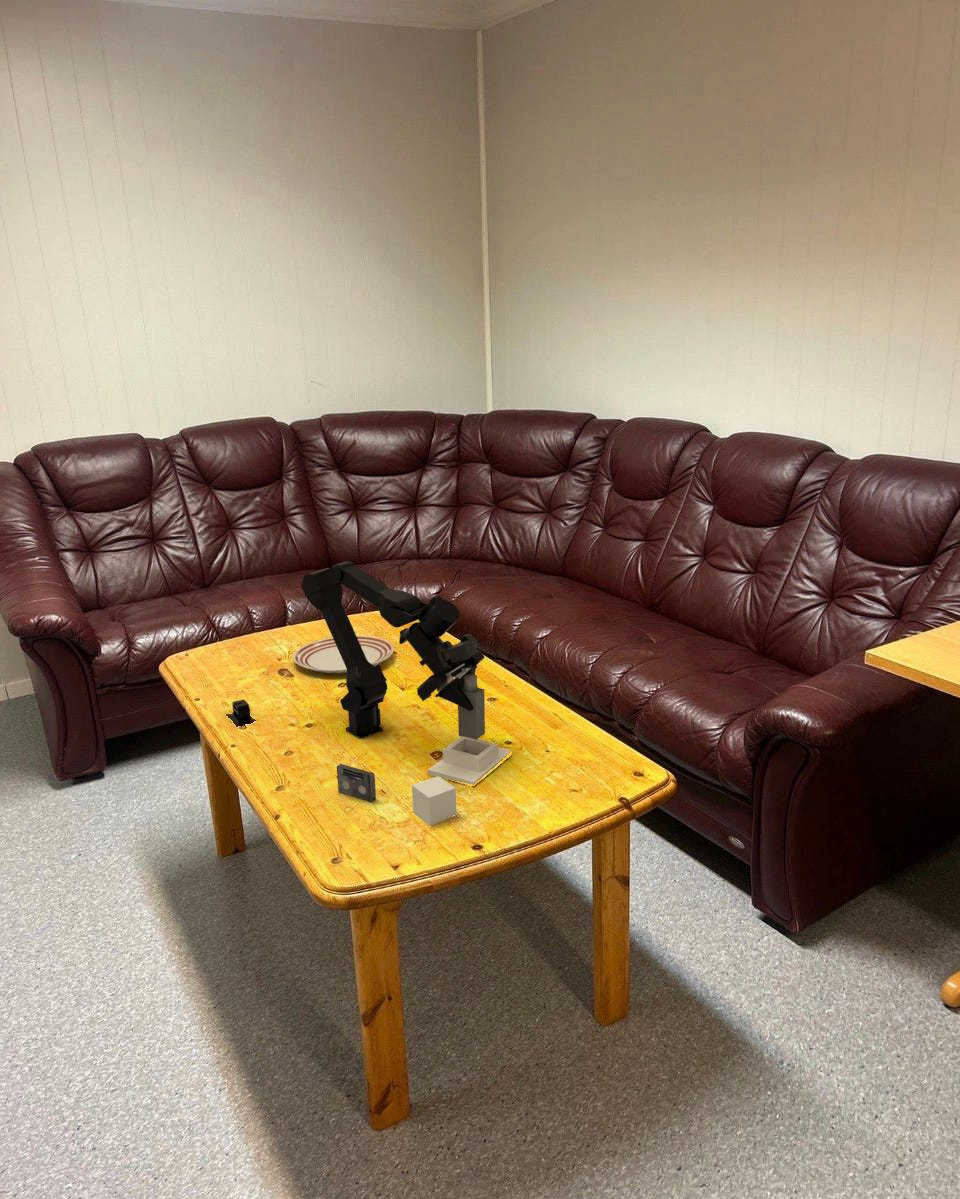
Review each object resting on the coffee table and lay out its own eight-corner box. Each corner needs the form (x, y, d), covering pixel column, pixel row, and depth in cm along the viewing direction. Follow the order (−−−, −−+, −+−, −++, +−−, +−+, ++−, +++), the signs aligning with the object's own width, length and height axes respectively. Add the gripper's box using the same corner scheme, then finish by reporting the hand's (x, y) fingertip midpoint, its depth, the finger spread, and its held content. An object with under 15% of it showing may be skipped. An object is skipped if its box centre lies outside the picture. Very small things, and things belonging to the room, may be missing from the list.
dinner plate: (275, 675, 247) (274, 663, 246) (320, 641, 272) (320, 630, 271) (371, 685, 239) (370, 673, 238) (408, 649, 264) (408, 638, 263)
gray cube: (439, 803, 181) (438, 775, 179) (456, 816, 176) (455, 788, 175) (413, 813, 178) (411, 785, 176) (430, 826, 173) (429, 797, 171)
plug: (458, 735, 194) (457, 677, 190) (467, 729, 197) (465, 671, 193) (476, 739, 192) (475, 681, 188) (485, 733, 194) (484, 675, 191)
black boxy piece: (220, 715, 224) (218, 697, 223) (249, 708, 228) (247, 690, 226) (235, 734, 214) (233, 715, 213) (266, 726, 217) (264, 708, 216)
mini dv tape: (376, 799, 183) (374, 772, 181) (371, 802, 182) (369, 775, 180) (343, 789, 187) (341, 762, 185) (338, 792, 186) (336, 765, 184)
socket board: (428, 774, 192) (427, 756, 191) (468, 744, 205) (468, 727, 204) (473, 787, 186) (472, 768, 185) (512, 755, 200) (512, 737, 198)
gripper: (427, 639, 181) (477, 702, 179) (476, 613, 197) (522, 670, 195) (396, 670, 188) (443, 731, 185) (445, 642, 203) (490, 698, 201)
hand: (476, 706), depth 191 cm, fingers closed on plug, 3 cm apart
